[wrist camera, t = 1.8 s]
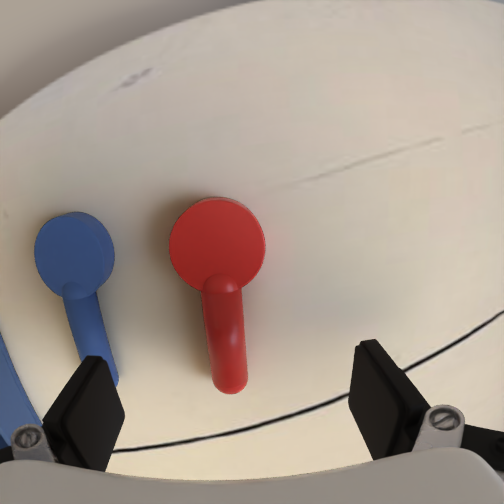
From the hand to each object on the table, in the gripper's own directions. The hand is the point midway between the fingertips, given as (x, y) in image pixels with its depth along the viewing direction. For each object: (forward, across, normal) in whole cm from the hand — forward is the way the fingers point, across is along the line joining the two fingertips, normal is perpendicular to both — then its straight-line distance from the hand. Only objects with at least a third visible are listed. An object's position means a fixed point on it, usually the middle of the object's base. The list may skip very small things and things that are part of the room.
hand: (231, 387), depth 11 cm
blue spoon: (+5, +7, -2) cm, 9 cm away
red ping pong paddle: (+5, 0, -2) cm, 5 cm away
